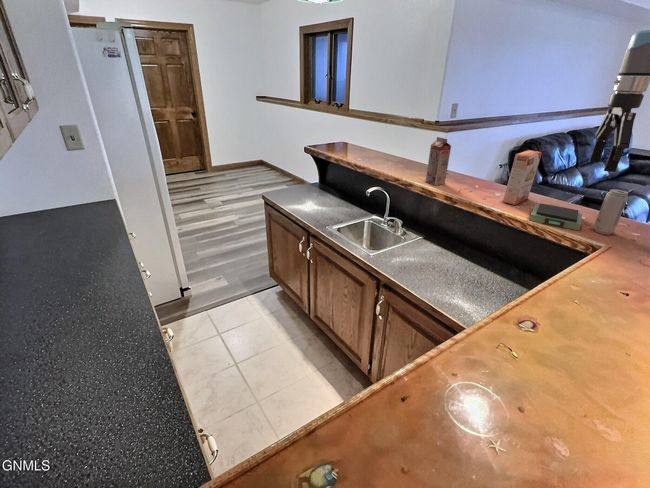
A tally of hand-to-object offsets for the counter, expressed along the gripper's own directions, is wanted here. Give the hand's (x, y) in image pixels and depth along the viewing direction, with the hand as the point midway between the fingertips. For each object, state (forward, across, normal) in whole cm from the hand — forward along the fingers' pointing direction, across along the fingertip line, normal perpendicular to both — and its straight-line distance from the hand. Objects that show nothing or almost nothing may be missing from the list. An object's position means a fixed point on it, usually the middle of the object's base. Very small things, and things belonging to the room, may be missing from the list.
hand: (601, 166), depth 110 cm
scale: (+24, -15, -3) cm, 29 cm away
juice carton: (+24, -49, -50) cm, 74 cm away
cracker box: (+24, -34, -14) cm, 44 cm away
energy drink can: (+25, -8, +10) cm, 28 cm away
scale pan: (+22, -15, -3) cm, 27 cm away
